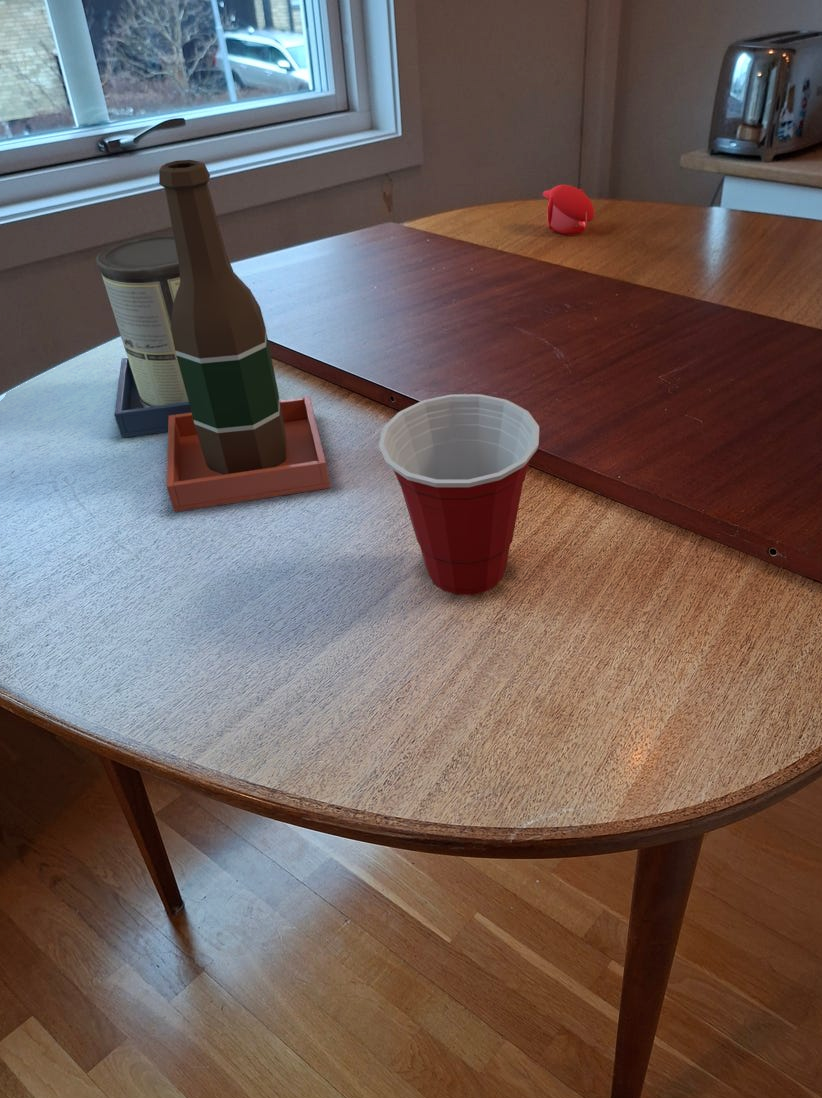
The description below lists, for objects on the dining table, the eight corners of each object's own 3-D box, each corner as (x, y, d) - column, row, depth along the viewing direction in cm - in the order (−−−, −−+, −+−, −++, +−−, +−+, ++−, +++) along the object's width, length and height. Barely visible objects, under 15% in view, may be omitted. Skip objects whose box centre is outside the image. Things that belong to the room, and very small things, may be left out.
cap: (599, 227, 129) (602, 182, 125) (586, 239, 125) (588, 193, 121) (548, 221, 132) (549, 178, 128) (534, 233, 127) (534, 188, 123)
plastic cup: (373, 607, 63) (352, 461, 55) (420, 525, 71) (408, 387, 63) (519, 630, 61) (519, 481, 53) (551, 543, 69) (555, 401, 61)
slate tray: (121, 438, 84) (114, 414, 82) (128, 380, 94) (121, 358, 92) (260, 418, 86) (255, 395, 84) (253, 364, 96) (248, 342, 94)
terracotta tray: (174, 512, 74) (166, 486, 72) (175, 439, 83) (168, 415, 82) (330, 488, 76) (326, 462, 74) (313, 419, 86) (309, 396, 84)
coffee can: (166, 370, 94) (127, 231, 85) (257, 375, 93) (228, 234, 83) (120, 414, 86) (73, 267, 77) (219, 420, 85) (182, 271, 76)
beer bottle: (304, 440, 81) (253, 152, 66) (271, 483, 76) (205, 179, 60) (227, 433, 83) (159, 150, 67) (189, 475, 77) (104, 176, 61)
